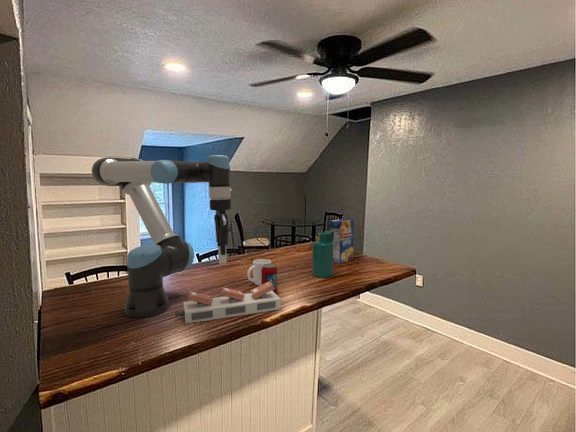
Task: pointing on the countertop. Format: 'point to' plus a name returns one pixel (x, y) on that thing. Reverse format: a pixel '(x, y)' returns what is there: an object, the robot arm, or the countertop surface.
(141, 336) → the countertop surface
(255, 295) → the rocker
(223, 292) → the rocker
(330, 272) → the green bottle
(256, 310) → the power strip
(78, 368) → the countertop surface
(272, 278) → the beverage can
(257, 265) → the mug
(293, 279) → the countertop surface
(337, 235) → the juice carton
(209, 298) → the block
